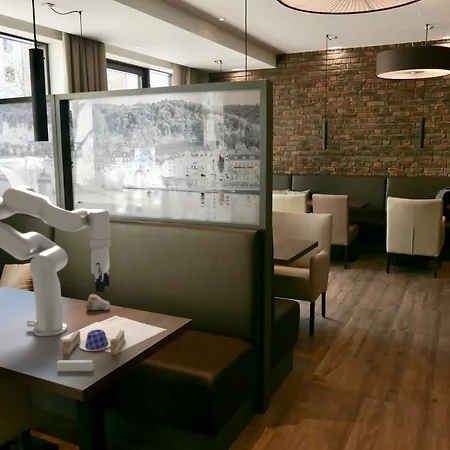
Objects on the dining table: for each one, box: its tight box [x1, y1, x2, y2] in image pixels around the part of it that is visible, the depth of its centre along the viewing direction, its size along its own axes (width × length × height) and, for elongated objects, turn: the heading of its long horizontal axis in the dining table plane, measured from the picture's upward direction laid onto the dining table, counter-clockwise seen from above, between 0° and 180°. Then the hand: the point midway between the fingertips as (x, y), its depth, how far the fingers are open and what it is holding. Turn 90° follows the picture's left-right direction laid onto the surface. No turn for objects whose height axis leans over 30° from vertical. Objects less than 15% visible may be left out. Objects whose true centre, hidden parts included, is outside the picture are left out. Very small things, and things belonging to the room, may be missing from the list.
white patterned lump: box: [85, 293, 111, 311], centre depth 212 cm, size 8×10×10 cm
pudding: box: [79, 329, 112, 352], centre depth 175 cm, size 12×12×5 cm
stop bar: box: [56, 359, 94, 372], centre depth 155 cm, size 11×2×3 cm, turn 89°
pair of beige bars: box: [61, 330, 125, 356], centre depth 173 cm, size 18×14×5 cm
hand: (102, 288), depth 184 cm, fingers open, 6 cm apart
